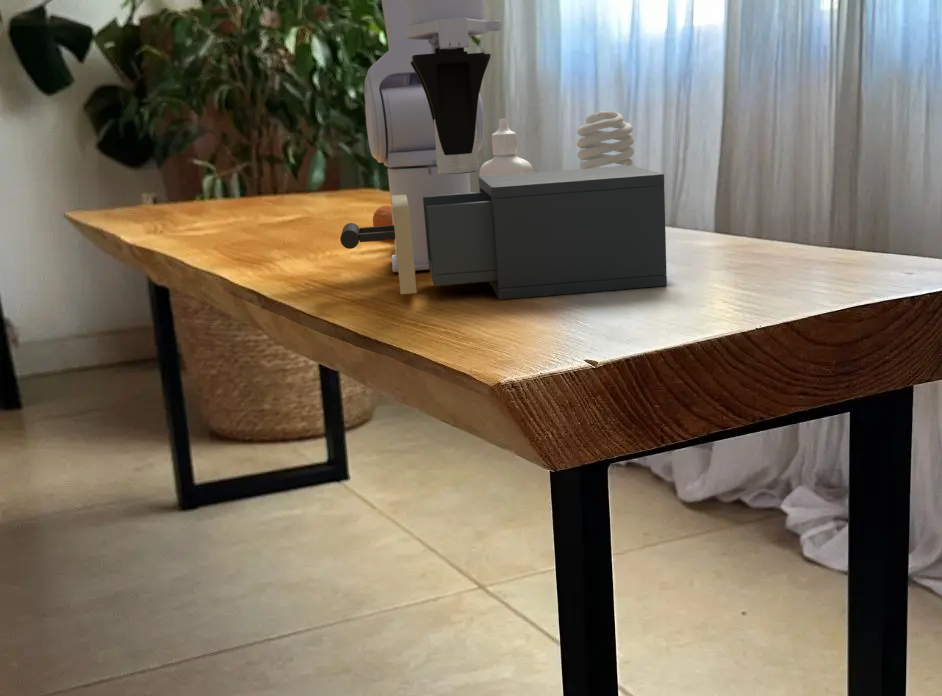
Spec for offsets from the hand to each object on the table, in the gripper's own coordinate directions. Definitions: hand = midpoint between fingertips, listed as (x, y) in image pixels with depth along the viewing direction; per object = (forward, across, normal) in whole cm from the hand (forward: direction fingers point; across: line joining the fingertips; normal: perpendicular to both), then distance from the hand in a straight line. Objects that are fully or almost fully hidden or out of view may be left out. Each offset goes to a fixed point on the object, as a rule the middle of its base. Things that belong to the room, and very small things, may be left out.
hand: (456, 153), depth 93 cm
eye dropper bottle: (+10, +28, -6) cm, 30 cm away
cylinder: (+1, 0, 0) cm, 1 cm away
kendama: (+10, +35, +4) cm, 37 cm away
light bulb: (+10, +28, -16) cm, 34 cm away
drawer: (+9, 0, +2) cm, 10 cm away
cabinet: (+10, 0, -8) cm, 13 cm away
